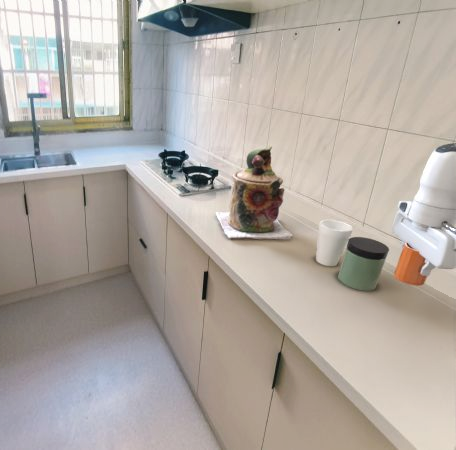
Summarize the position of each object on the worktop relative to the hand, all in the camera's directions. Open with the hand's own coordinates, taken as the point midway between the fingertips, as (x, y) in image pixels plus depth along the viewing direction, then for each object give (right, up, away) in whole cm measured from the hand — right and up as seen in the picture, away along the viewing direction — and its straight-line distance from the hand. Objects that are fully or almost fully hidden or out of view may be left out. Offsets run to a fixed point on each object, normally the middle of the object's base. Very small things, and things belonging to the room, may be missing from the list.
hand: (413, 265), depth 84 cm
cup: (0, -3, +1) cm, 4 cm away
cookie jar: (-26, +9, +51) cm, 58 cm away
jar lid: (-4, +4, +12) cm, 13 cm away
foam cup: (-8, -2, +27) cm, 28 cm away
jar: (-4, -6, +17) cm, 18 cm away
